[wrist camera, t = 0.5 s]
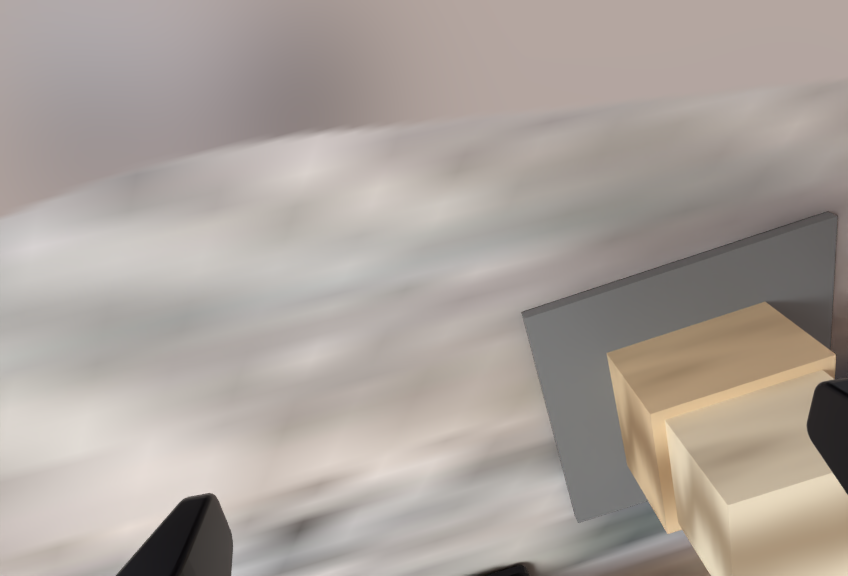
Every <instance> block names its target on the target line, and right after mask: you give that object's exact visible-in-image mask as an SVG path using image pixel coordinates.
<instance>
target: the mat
mask: <svg viewBox="0 0 848 576" xmlns="http://www.w3.org/2000/svg"><path fill="white" fill-rule="evenodd" d="M836 234H837V215H834V214H832V213H830V212H825V213H822V214H819V215H816V216H813V217H810V218H807V219H804V220H801V221H798V222H795V223H792V224H789V225H786V226H783V227H780V228H777V229H774V230H771V231H768V232H765V233H762V234H758V235H755V236H752V237H749V238H746V239H743V240H740V241H737V242H734V243H731V244H728V245H725V246H722V247H719V248H716V249H713V250H710V251H707V252H704V253H701V254H698V255H695V256H692V257H689V258H686V259H682V260H679V261H676V262H673V263H670V264H667V265H664V266H661V267H658V268H655V269H652V270H649V271H646V272H643V273H640V274H637V275H634V276H631V277H628V278H625V279H622V280H619V281H616V282H613V283H610V284H606V285H603V286H600V287H597V288H594V289H591V290H588V291H585V292H582V293H579V294H576V295H573V296H570V297H567V298H564V299H561V300H558V301H555V302H552V303H549V304H546V305H543V306H540V307H537V308H534V309H530V310H527V311H524V312H521V313H522V316H523V320H524V324H525V328H526V332H527V335H528V339H529V343H530V347H531V351H532V354H533V358H534V362H535V366H536V370H537V373H538V377H539V381H540V385H541V389H542V392H543V396H544V400H545V404H546V408H547V411H548V415H549V419H550V423H551V427H552V430H553V434H554V438H555V442H556V446H557V449H558V453H559V457H560V461H561V465H562V468H563V472H564V476H565V480H566V484H567V488H568V491H569V495H570V499H571V503H572V507H573V510H574V514H575V517H576V519H577V521H578V523H580V522H583V521H586V520H590V519H593V518H596V517H599V516H602V515H606V514H609V513H612V512H615V511H618V510H621V509H625V508H628V507H631V506H634V505H637V504H640V503H644V502H647V501H648V500H647V498H646V496H645V494H644V493H643V491H642V489H641V488H640V486H639V484H638V483H637V481H636V479H635V478H634V476H633V474H632V472H631V471H630V469H629V467H628V466H627V462H626V456H625V451H624V445H623V440H622V434H621V429H620V424H619V418H618V413H617V407H616V402H615V396H614V391H613V385H612V380H611V375H610V369H609V364H608V358H607V353H608V352H611V351H615V350H618V349H621V348H624V347H627V346H630V345H633V344H636V343H639V342H642V341H645V340H648V339H651V338H655V337H658V336H661V335H664V334H667V333H670V332H673V331H676V330H679V329H682V328H685V327H688V326H691V325H695V324H698V323H701V322H704V321H707V320H710V319H713V318H716V317H719V316H722V315H725V314H728V313H732V312H735V311H738V310H741V309H744V308H747V307H750V306H753V305H756V304H759V303H762V302H766V303H768V304H769V305H770V306H772V307H773V308H774V309H776V310H777V311H778V312H780V313H781V314H782V315H784V316H785V317H786V318H788V319H789V320H790V321H792V322H793V323H794V324H796V325H797V326H798V327H800V328H801V329H802V330H804V331H805V332H806V333H808V334H809V335H810V336H812V337H813V338H814V339H816V340H817V341H818V342H820V343H821V344H822V345H824V346H825V347H826V348H828V349H829V350H830V347H831V328H832V309H833V291H834V272H835V253H836Z"/></svg>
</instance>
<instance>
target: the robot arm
mask: <svg viewBox="0 0 848 576" xmlns="http://www.w3.org/2000/svg"><path fill="white" fill-rule="evenodd" d="M806 425H807V432H808V435H809V437H810V440H811V441H812V443H813V444H814V446H815V447H816V449H817V450H818V452H819V453H820V455H821V456H822V458H823V459H824V461H825V462H826V464H827V465H828V467H829V468H830V470H831V471H832V473H833V474H834V476H835V477H836V479H837V480H838V481H839V483H840V484H841V486H842V487H843V489H844V490H845V492H846V493H847V495H848V378H840V379H834V380H829V381H824V382H821V383H819V384H818V385H817V386H816V388H815V390H814V394H813V398H812V402H811V406H810V411H809V415H808V419H807V424H806ZM232 554H233V540H232V534H231V530H230V528H229V525H228V523H227V520H226V518H225V515H224V513H223V511H222V508H221V506H220V503H219V501H218V499H217V497H216V496H215V495H214V494H211V493H207V494H202V495H196V496H191V497H187V498H185V499H183V500H182V501H181V502H180V503H179V504H178V505H177V506H176V507H175V508H174V509H173V511H172V512H171V513H170V514H169V515H168V516H167V517H166V519H165V520H164V521H163V522H162V523H161V524H160V526H159V527H158V528H157V529H156V530H155V531H154V532H153V534H152V535H151V536H150V537H149V538H148V539H147V540H146V542H145V543H144V544H143V545H142V546H141V547H140V548H139V550H138V551H137V552H136V553H135V554H134V555H133V556H132V558H131V559H130V560H129V561H128V562H127V563H126V564H125V566H124V567H123V568H122V569H121V570H120V571H119V572H118V574H117V575H116V576H231V569H232ZM487 576H529V573H528V570H527V568H526V567H524V566H515V567H512V568H509V569H506V570H503V571H499V572H496V573H493V574H490V575H487Z"/></svg>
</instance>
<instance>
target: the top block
mask: <svg viewBox="0 0 848 576" xmlns="http://www.w3.org/2000/svg"><path fill="white" fill-rule="evenodd" d="M829 380H834V379H833V378H832V377H831V376H830V375H828V374H827V373H826V372H825V371H823V370H819V371H816V372H813V373H810V374H806V375H803V376H800V377H797V378H794V379H791V380H788V381H785V382H781V383H778V384H775V385H772V386H769V387H766V388H763V389H759V390H756V391H753V392H750V393H747V394H744V395H741V396H738V397H734V398H731V399H728V400H725V401H722V402H719V403H716V404H713V405H709V406H706V407H703V408H700V409H697V410H694V411H691V412H687V413H684V414H681V415H678V416H675V417H672V418H669V419H666V420H665V426H666V434H667V442H668V449H669V457H670V464H671V472H672V480H673V487H674V495H675V502H676V510H677V518H678V523H679V525H680V527H681V528H682V530H683V531H684V533H685V535H686V536H687V538H688V540H689V541H690V543H691V544H692V546H693V548H694V549H695V551H696V552H697V554H698V556H699V557H700V559H701V560H702V562H703V564H704V565H705V567H706V568H707V570H708V572H709V573H710V575H711V576H848V495H847V493H846V492H845V490H844V489H843V487H842V486H841V484H840V483H839V481H838V480H837V479H836V477H835V476H834V474H833V473H832V471H831V470H830V468H829V467H828V465H827V464H826V462H825V461H824V459H823V458H822V456H821V455H820V453H819V452H818V450H817V449H816V447H815V446H814V444H813V443H812V441H811V440H810V437H809V435H808V432H807V425H806V424H807V419H808V415H809V411H810V406H811V402H812V398H813V394H814V390H815V388H816V386H817V385H818V384H819V383H821V382H824V381H829Z"/></svg>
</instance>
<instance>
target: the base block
mask: <svg viewBox="0 0 848 576" xmlns="http://www.w3.org/2000/svg"><path fill="white" fill-rule="evenodd" d="M607 358H608V364H609V369H610V375H611V380H612V385H613V391H614V396H615V402H616V407H617V413H618V418H619V424H620V429H621V434H622V440H623V445H624V451H625V456H626V462H627V466H628V467H629V469H630V471H631V472H632V474H633V476H634V478H635V479H636V481H637V483H638V484H639V486H640V488H641V489H642V491H643V493H644V494H645V496H646V498H647V500H648V501H649V503H650V505H651V506H652V508H653V510H654V511H655V513H656V515H657V517H658V518H659V520H660V522H661V523H662V525H663V527H664V528H665V530H666V532H667V533H668V534H669V533H673V532H676V531H679V530H682V528H681V527H680V525H679V523H678V518H677V510H676V502H675V495H674V487H673V480H672V472H671V464H670V457H669V449H668V442H667V434H666V426H665V420H666V419H669V418H672V417H675V416H678V415H681V414H684V413H687V412H691V411H694V410H697V409H700V408H703V407H706V406H709V405H713V404H716V403H719V402H722V401H725V400H728V399H731V398H734V397H738V396H741V395H744V394H747V393H750V392H753V391H756V390H759V389H763V388H766V387H769V386H772V385H775V384H778V383H781V382H785V381H788V380H791V379H794V378H797V377H800V376H803V375H806V374H810V373H813V372H816V371H819V370H823V371H825V372H826V373H827V374H828V375H830V376H831V377H832V378H833V379H835V364H836V354H835V353H833V352H832V351H831V350H829V349H828V348H826V347H825V346H824V345H822V344H821V343H820V342H818V341H817V340H816V339H814V338H813V337H812V336H810V335H809V334H808V333H806V332H805V331H804V330H802V329H801V328H800V327H798V326H797V325H796V324H794V323H793V322H792V321H790V320H789V319H788V318H786V317H785V316H784V315H782V314H781V313H780V312H778V311H777V310H776V309H774V308H773V307H772V306H770V305H769V304H768V303H766V302H762V303H759V304H756V305H753V306H750V307H747V308H744V309H741V310H738V311H735V312H732V313H728V314H725V315H722V316H719V317H716V318H713V319H710V320H707V321H704V322H701V323H698V324H695V325H691V326H688V327H685V328H682V329H679V330H676V331H673V332H670V333H667V334H664V335H661V336H658V337H655V338H651V339H648V340H645V341H642V342H639V343H636V344H633V345H630V346H627V347H624V348H621V349H618V350H615V351H611V352H608V353H607Z"/></svg>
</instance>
